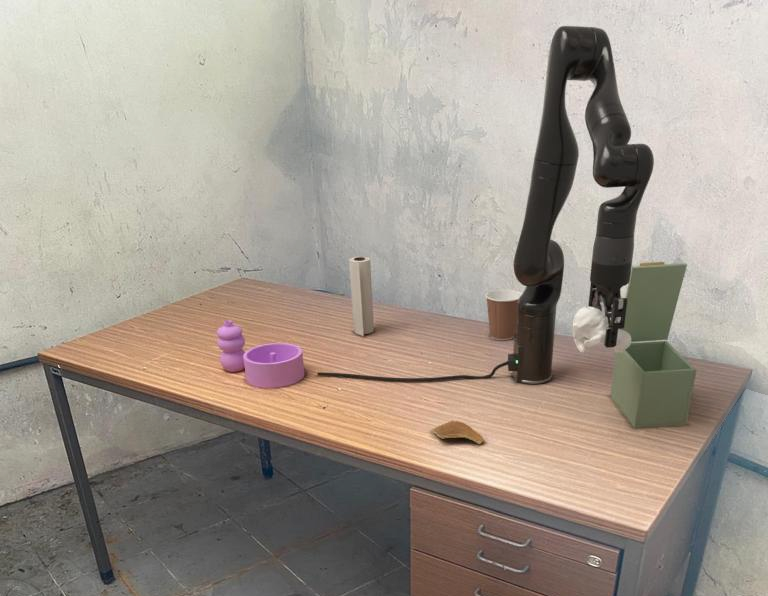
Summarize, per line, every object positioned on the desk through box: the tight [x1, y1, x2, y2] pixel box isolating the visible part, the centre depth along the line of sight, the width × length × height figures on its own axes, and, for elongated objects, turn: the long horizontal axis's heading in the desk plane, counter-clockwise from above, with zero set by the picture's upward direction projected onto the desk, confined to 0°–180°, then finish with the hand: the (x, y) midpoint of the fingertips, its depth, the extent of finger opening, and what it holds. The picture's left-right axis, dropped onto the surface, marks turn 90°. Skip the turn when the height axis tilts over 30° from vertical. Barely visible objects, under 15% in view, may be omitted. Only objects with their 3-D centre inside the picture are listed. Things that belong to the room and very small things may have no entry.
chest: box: [609, 340, 697, 429], centre depth 171 cm, size 18×12×13 cm, turn 3°
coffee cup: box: [485, 289, 523, 341], centre depth 216 cm, size 10×10×12 cm
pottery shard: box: [432, 420, 485, 445], centre depth 166 cm, size 10×9×2 cm
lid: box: [621, 261, 688, 343], centre depth 170 cm, size 18×12×5 cm
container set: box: [216, 319, 306, 389], centre depth 200 cm, size 25×15×13 cm, turn 60°
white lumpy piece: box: [572, 306, 632, 355], centre depth 155 cm, size 6×8×12 cm
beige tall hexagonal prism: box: [348, 256, 375, 337], centre depth 222 cm, size 7×6×21 cm
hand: (602, 339), depth 156 cm, fingers closed on white lumpy piece, 7 cm apart
